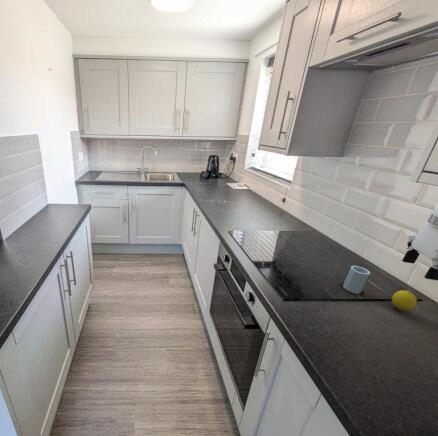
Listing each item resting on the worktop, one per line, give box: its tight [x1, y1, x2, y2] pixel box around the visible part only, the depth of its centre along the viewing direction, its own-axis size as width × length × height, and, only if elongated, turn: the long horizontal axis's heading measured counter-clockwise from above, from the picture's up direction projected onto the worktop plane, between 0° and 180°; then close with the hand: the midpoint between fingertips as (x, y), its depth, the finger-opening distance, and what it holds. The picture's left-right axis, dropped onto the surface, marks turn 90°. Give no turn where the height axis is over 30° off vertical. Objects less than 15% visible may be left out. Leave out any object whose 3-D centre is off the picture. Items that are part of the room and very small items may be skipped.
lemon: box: [391, 290, 417, 311], centre depth 80 cm, size 6×6×8 cm
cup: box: [342, 265, 371, 295], centre depth 89 cm, size 6×6×9 cm
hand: (418, 270), depth 75 cm, fingers open, 9 cm apart
